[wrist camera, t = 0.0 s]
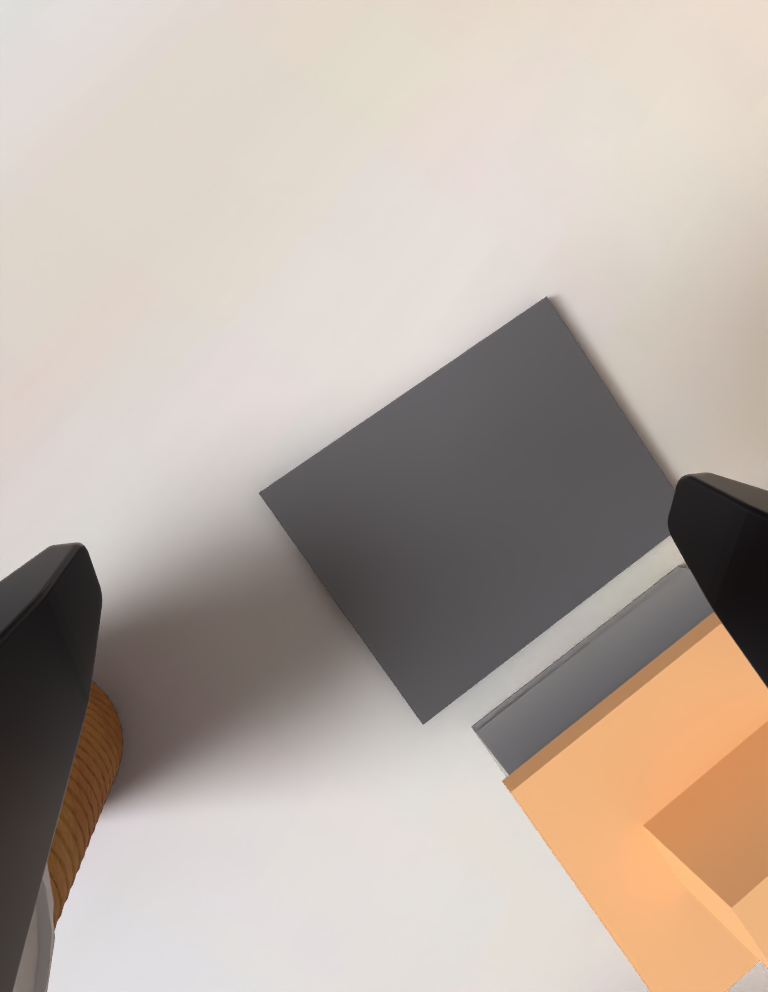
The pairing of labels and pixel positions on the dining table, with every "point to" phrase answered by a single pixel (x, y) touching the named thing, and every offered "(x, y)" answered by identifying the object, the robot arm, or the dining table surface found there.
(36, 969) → the disposable coffee cup
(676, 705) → the lid
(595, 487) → the mat
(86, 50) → the dining table surface
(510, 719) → the tub
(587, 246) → the dining table surface
